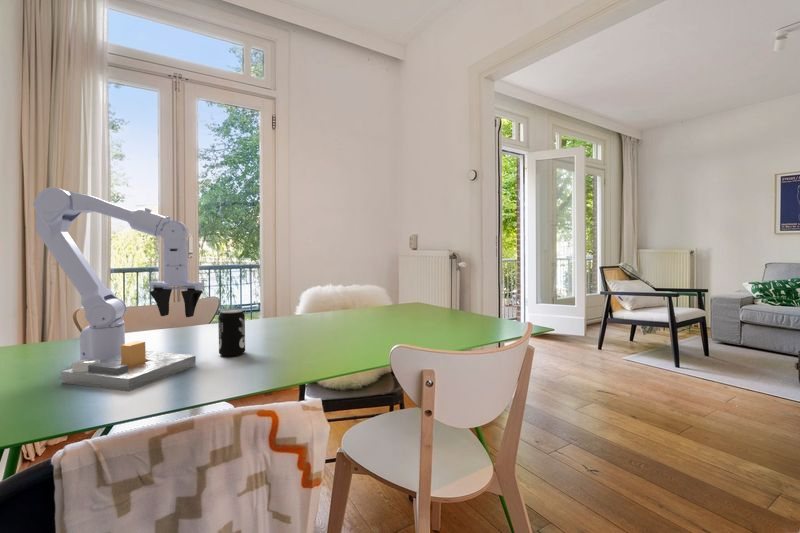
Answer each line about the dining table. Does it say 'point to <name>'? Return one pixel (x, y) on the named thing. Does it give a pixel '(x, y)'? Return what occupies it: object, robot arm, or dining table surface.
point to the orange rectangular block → (133, 353)
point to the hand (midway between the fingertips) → (177, 316)
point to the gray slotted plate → (126, 371)
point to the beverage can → (231, 332)
